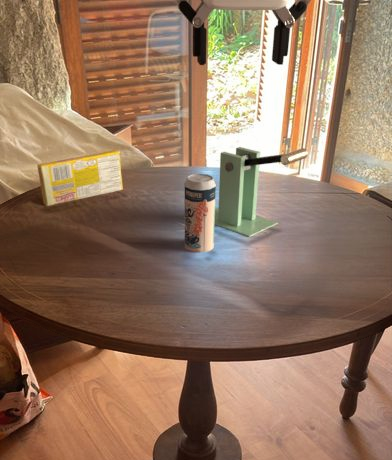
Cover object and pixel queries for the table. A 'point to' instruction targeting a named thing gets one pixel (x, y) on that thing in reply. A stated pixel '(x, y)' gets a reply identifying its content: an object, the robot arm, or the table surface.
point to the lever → (275, 158)
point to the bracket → (239, 195)
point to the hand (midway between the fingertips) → (239, 63)
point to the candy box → (80, 177)
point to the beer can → (199, 212)
